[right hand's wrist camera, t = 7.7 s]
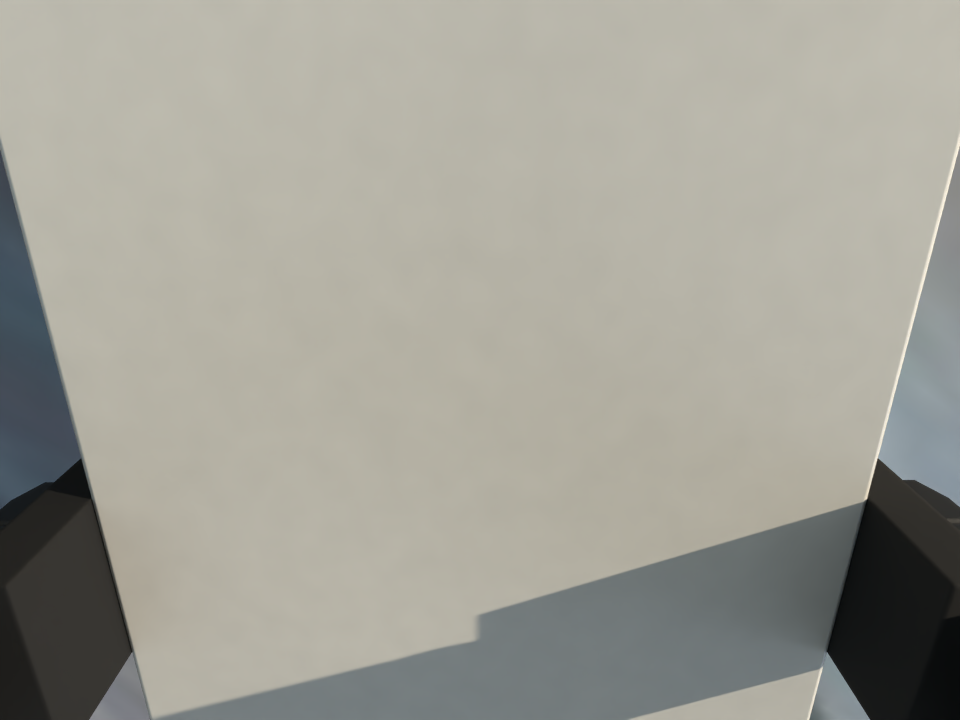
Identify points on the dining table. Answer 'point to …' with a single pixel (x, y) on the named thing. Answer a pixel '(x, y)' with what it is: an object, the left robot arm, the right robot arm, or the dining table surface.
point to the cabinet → (479, 335)
